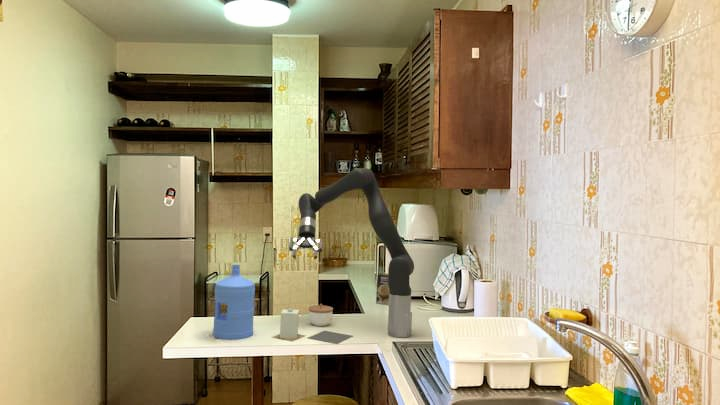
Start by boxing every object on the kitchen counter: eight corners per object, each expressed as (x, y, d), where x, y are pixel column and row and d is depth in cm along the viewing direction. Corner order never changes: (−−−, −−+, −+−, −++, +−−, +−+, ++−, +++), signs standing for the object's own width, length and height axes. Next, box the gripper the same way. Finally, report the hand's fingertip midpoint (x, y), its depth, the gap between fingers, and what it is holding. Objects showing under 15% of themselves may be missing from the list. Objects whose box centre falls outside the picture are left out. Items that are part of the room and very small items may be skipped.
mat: (353, 336, 202) (353, 335, 202) (337, 345, 190) (337, 344, 190) (324, 331, 209) (324, 330, 209) (306, 339, 196) (306, 338, 196)
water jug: (252, 329, 207) (255, 262, 207) (253, 340, 192) (256, 268, 192) (213, 330, 203) (216, 262, 203) (211, 341, 188) (214, 267, 188)
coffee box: (375, 303, 271) (376, 274, 271) (378, 301, 277) (379, 272, 277) (391, 305, 268) (393, 275, 268) (394, 303, 274) (395, 274, 274)
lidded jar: (310, 328, 212) (311, 307, 212) (306, 322, 223) (307, 301, 223) (334, 328, 215) (335, 306, 215) (329, 322, 225) (330, 301, 225)
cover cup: (281, 333, 201) (282, 306, 201) (297, 334, 201) (298, 307, 201) (279, 338, 194) (281, 310, 194) (296, 338, 194) (297, 311, 194)
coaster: (306, 336, 200) (306, 335, 200) (292, 342, 191) (292, 341, 191) (285, 332, 204) (285, 331, 204) (271, 338, 195) (271, 337, 195)
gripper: (291, 223, 218) (287, 251, 207) (323, 224, 219) (321, 253, 208) (291, 234, 224) (288, 262, 212) (323, 235, 224) (321, 264, 213)
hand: (304, 257), depth 210 cm, fingers open, 8 cm apart
